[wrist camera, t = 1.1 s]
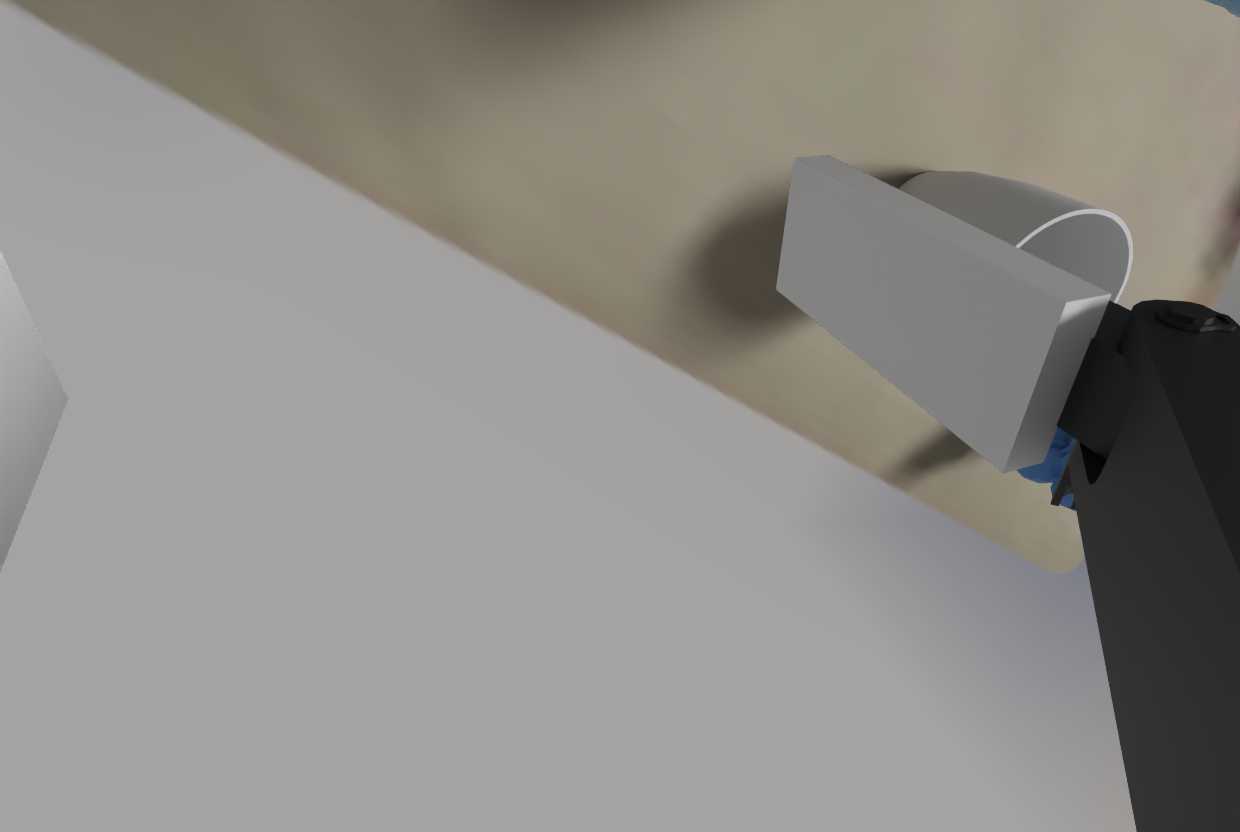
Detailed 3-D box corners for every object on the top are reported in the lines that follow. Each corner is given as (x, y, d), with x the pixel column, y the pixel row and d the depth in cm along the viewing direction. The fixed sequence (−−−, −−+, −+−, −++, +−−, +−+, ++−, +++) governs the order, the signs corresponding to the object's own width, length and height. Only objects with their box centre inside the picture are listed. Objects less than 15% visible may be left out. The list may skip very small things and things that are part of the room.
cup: (900, 309, 46) (1017, 402, 38) (824, 232, 41) (941, 320, 33) (1008, 201, 44) (1156, 276, 36) (941, 107, 39) (1095, 170, 31)
